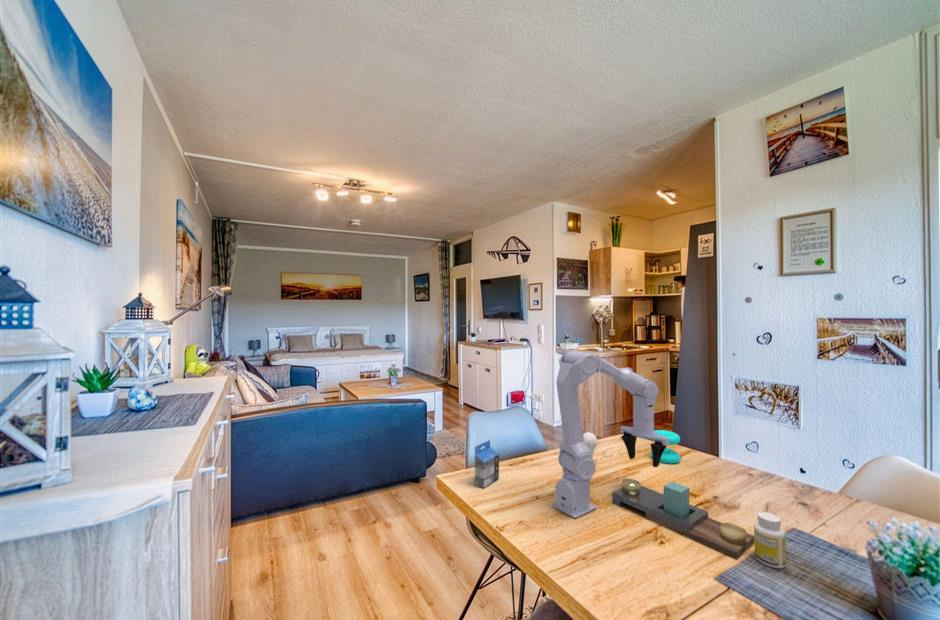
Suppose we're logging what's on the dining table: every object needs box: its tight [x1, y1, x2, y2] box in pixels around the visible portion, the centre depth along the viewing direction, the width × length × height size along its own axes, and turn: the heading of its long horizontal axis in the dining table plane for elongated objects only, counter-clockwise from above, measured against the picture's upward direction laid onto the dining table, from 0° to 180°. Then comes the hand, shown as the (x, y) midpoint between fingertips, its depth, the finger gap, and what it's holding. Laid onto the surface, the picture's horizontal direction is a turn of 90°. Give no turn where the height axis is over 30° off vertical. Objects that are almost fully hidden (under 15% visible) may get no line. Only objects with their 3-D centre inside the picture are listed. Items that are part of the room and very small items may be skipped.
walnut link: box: [645, 512, 754, 560], centre depth 95 cm, size 11×21×4 cm, turn 36°
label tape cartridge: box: [474, 439, 500, 489], centre depth 121 cm, size 9×4×12 cm, turn 143°
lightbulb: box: [583, 431, 599, 460], centre depth 138 cm, size 6×6×11 cm
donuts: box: [650, 429, 681, 465], centre depth 141 cm, size 10×10×10 cm
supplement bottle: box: [753, 511, 787, 569], centre depth 83 cm, size 5×5×10 cm
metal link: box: [611, 478, 709, 532], centre depth 103 cm, size 11×21×5 cm, turn 36°
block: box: [663, 481, 690, 519], centre depth 99 cm, size 4×4×9 cm
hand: (643, 462), depth 114 cm, fingers open, 7 cm apart
